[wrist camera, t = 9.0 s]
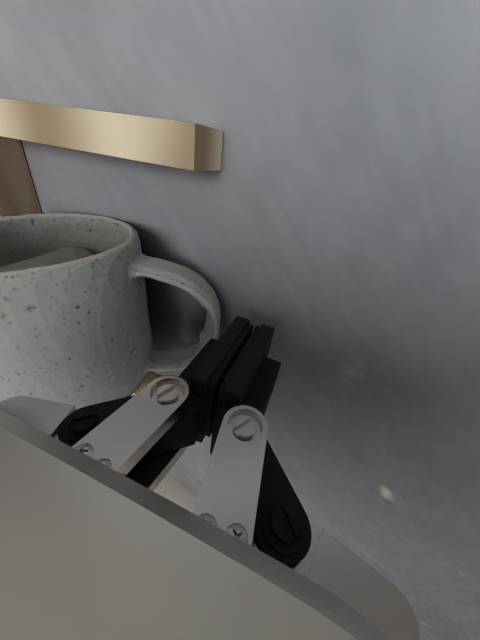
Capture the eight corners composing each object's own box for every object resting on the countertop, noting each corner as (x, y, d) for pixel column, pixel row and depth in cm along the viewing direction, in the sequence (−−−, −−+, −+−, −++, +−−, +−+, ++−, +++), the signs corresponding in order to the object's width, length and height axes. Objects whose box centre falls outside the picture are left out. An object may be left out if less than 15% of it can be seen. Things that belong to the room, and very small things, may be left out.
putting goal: (223, 131, 9) (-951, -208, 1) (203, 405, 17) (77, 606, 9) (-27, 98, 12) (-781, -42, 4) (61, 344, 21) (-125, 456, 13)
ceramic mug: (91, 330, 18) (-41, 414, 12) (51, 207, 14) (-194, 239, 7) (227, 371, 15) (146, 510, 9) (232, 232, 11) (79, 318, 5)
